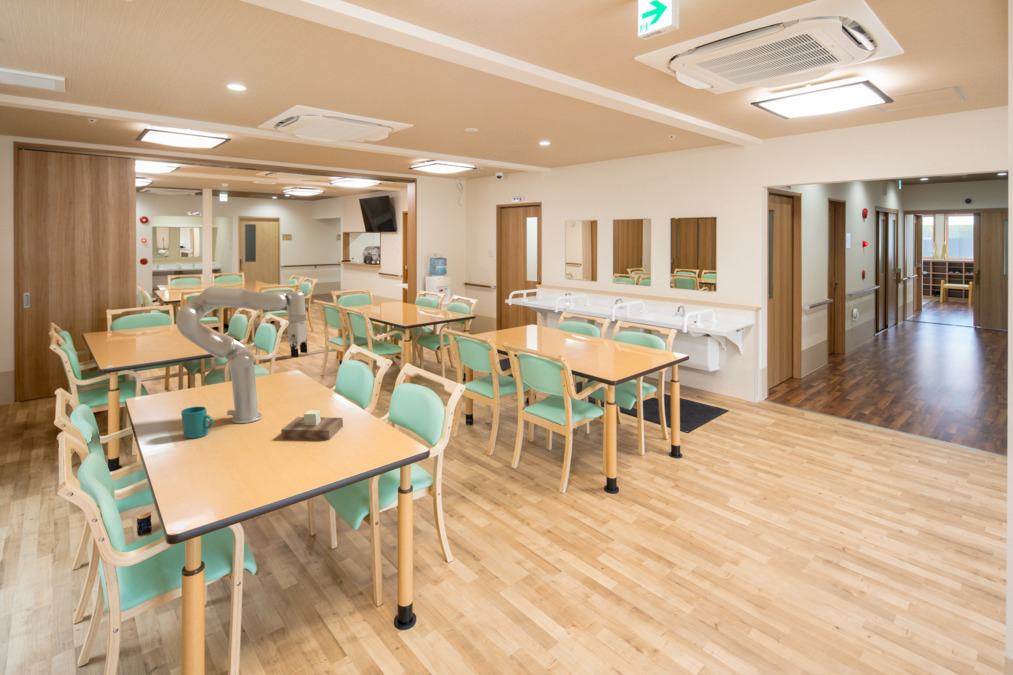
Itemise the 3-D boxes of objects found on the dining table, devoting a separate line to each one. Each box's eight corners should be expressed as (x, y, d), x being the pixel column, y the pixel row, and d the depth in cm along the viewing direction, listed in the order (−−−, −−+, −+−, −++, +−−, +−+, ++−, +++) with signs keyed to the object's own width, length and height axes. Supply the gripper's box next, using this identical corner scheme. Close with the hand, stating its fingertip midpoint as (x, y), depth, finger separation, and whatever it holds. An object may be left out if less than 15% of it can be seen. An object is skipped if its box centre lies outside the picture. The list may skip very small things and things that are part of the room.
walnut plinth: (281, 438, 221) (281, 429, 220) (298, 425, 236) (297, 416, 236) (329, 439, 220) (328, 430, 219) (342, 426, 235) (342, 417, 235)
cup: (208, 439, 220) (206, 413, 218) (179, 439, 220) (176, 413, 218) (220, 431, 229) (217, 406, 227) (191, 431, 229) (189, 406, 226)
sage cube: (304, 425, 225) (303, 414, 224) (309, 421, 230) (308, 410, 229) (316, 425, 225) (315, 414, 224) (320, 421, 230) (320, 410, 229)
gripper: (297, 315, 254) (299, 351, 257) (280, 321, 237) (283, 358, 240) (312, 315, 253) (314, 351, 257) (297, 321, 236) (299, 359, 240)
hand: (299, 354), depth 248 cm, fingers open, 9 cm apart
